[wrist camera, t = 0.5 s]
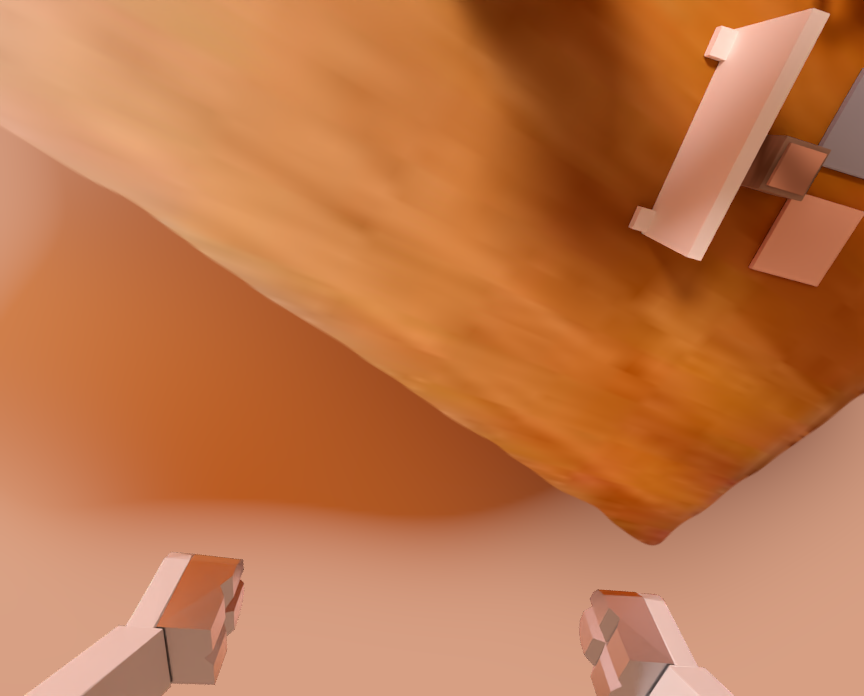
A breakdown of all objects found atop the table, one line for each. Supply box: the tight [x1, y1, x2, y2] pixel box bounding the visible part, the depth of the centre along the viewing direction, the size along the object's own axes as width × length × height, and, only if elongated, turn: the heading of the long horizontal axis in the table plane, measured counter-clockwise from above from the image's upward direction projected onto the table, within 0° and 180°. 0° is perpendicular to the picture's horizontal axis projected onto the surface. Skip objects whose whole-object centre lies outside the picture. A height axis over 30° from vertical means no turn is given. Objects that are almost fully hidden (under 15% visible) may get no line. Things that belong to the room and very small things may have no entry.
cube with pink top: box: [740, 135, 831, 201], centre depth 48 cm, size 5×5×5 cm
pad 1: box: [749, 194, 864, 287], centre depth 54 cm, size 9×9×1 cm
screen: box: [629, 8, 830, 261], centre depth 44 cm, size 20×5×10 cm, turn 165°
